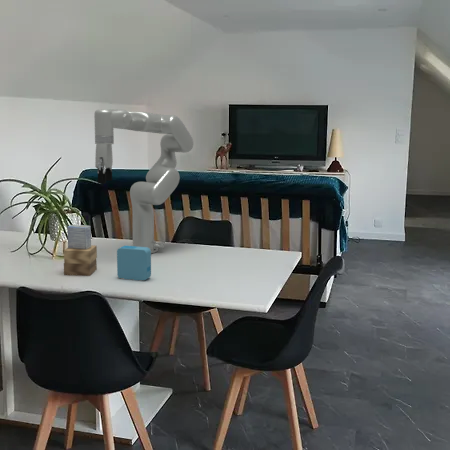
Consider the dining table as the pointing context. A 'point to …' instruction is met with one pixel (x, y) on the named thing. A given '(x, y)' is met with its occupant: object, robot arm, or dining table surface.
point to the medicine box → (79, 236)
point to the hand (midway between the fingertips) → (105, 181)
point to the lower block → (80, 269)
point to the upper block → (80, 255)
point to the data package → (134, 262)
